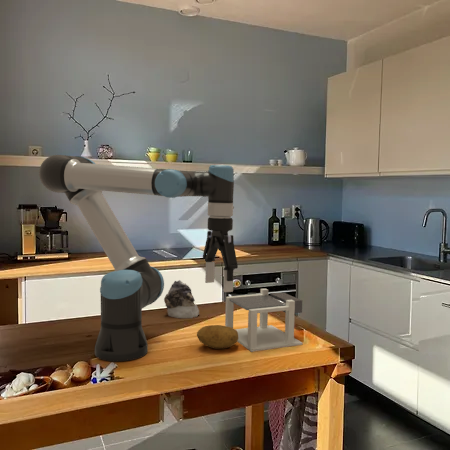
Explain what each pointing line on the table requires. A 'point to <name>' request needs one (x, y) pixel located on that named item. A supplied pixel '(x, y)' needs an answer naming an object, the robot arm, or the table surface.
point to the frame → (264, 326)
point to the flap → (267, 301)
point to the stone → (180, 301)
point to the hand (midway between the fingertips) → (218, 287)
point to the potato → (217, 336)
